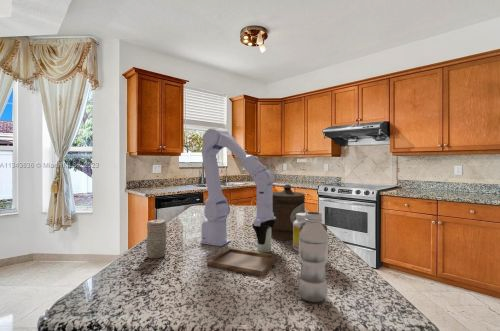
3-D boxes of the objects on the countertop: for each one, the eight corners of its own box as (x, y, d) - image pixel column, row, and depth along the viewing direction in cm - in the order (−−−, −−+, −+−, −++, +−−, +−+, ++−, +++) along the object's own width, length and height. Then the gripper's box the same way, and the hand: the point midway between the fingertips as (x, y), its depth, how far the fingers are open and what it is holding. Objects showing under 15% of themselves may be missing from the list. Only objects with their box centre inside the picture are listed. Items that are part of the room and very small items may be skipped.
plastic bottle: (294, 292, 64) (295, 210, 64) (321, 291, 65) (322, 210, 65) (302, 307, 58) (303, 216, 58) (332, 305, 59) (333, 215, 58)
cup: (255, 251, 93) (255, 228, 93) (260, 246, 97) (260, 225, 97) (268, 253, 91) (268, 230, 91) (273, 248, 95) (273, 226, 95)
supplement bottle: (311, 253, 92) (312, 216, 91) (292, 251, 93) (292, 215, 93) (311, 247, 98) (311, 212, 98) (293, 245, 100) (293, 212, 99)
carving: (145, 261, 84) (145, 223, 84) (147, 253, 91) (147, 218, 91) (166, 259, 86) (166, 222, 86) (166, 251, 93) (166, 217, 93)
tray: (207, 265, 80) (207, 260, 80) (229, 251, 93) (229, 247, 93) (262, 276, 73) (262, 271, 73) (277, 259, 86) (277, 254, 86)
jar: (333, 265, 81) (333, 226, 81) (312, 270, 77) (312, 229, 77) (314, 256, 89) (314, 220, 89) (294, 260, 85) (294, 223, 85)
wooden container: (301, 242, 104) (302, 186, 104) (265, 238, 109) (265, 185, 109) (306, 232, 118) (307, 183, 117) (274, 229, 123) (274, 182, 123)
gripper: (268, 208, 86) (267, 249, 86) (281, 201, 99) (281, 237, 99) (248, 206, 88) (248, 246, 89) (263, 200, 102) (263, 235, 102)
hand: (264, 241), depth 94 cm, fingers closed on cup, 5 cm apart
